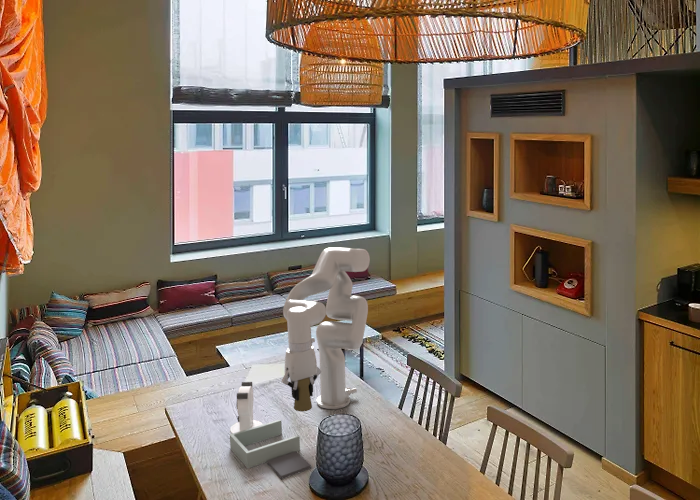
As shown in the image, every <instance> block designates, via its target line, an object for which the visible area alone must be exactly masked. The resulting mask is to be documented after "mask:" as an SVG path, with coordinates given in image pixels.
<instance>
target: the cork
mask: <svg viewBox="0 0 700 500" xmlns="http://www.w3.org/2000/svg"><path fill="white" fill-rule="evenodd" d="M309 384H310V378H309V377H308V378H305V379H301V380H298V384H297V389H298V390H299V400H298V401H297V400H295V399H294V400H293V401H294V402H293V410H294V411H297V412H308V411H310V410H311V409H312V408H313V404H312V398H311V396H310V392H309Z"/></svg>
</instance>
